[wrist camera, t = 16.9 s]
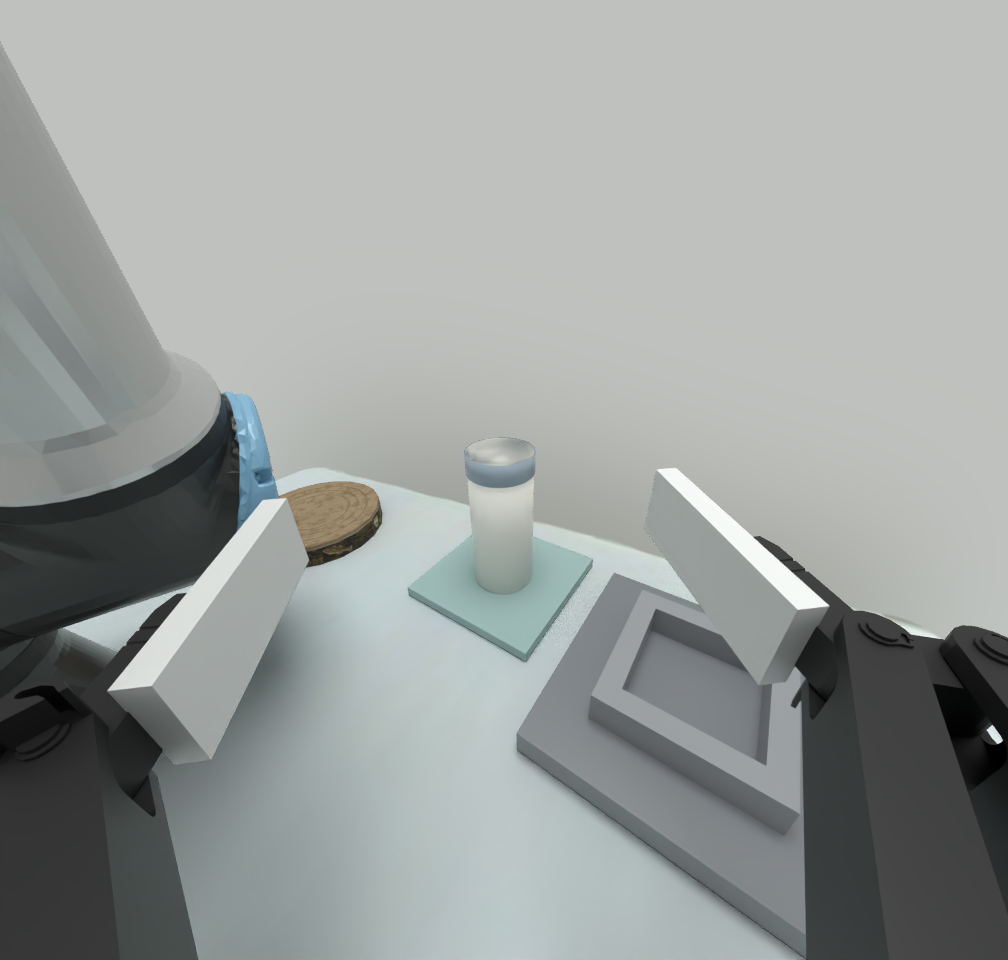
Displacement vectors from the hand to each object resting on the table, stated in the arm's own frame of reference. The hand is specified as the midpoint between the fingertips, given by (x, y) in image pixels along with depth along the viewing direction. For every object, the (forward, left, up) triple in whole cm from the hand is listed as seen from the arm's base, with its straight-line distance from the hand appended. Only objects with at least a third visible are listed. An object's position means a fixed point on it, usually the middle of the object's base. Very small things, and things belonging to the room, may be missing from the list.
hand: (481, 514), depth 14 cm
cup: (-10, +15, -20) cm, 27 cm away
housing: (+9, +11, -21) cm, 25 cm away
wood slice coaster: (-36, +10, -21) cm, 44 cm away
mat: (-10, +15, -21) cm, 28 cm away
